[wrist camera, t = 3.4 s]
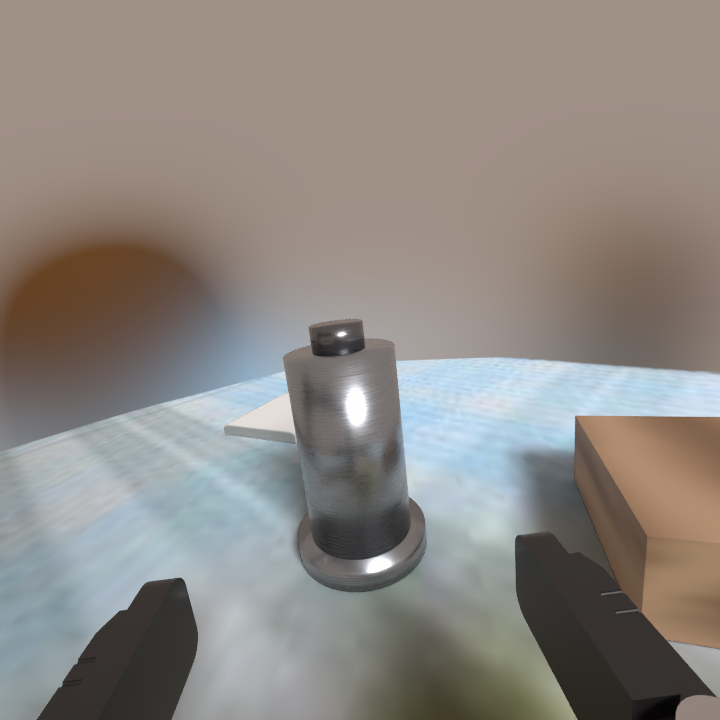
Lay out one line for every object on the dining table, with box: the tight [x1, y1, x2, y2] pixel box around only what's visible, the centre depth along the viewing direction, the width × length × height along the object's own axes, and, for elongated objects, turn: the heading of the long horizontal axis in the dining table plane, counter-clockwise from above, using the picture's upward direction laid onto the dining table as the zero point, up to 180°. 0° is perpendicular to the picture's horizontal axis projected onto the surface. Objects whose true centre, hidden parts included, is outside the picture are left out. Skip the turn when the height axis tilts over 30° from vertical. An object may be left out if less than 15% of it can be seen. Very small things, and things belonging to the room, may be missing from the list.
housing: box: [283, 319, 427, 592], centre depth 18 cm, size 6×6×11 cm
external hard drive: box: [224, 392, 297, 444], centre depth 39 cm, size 2×8×12 cm
